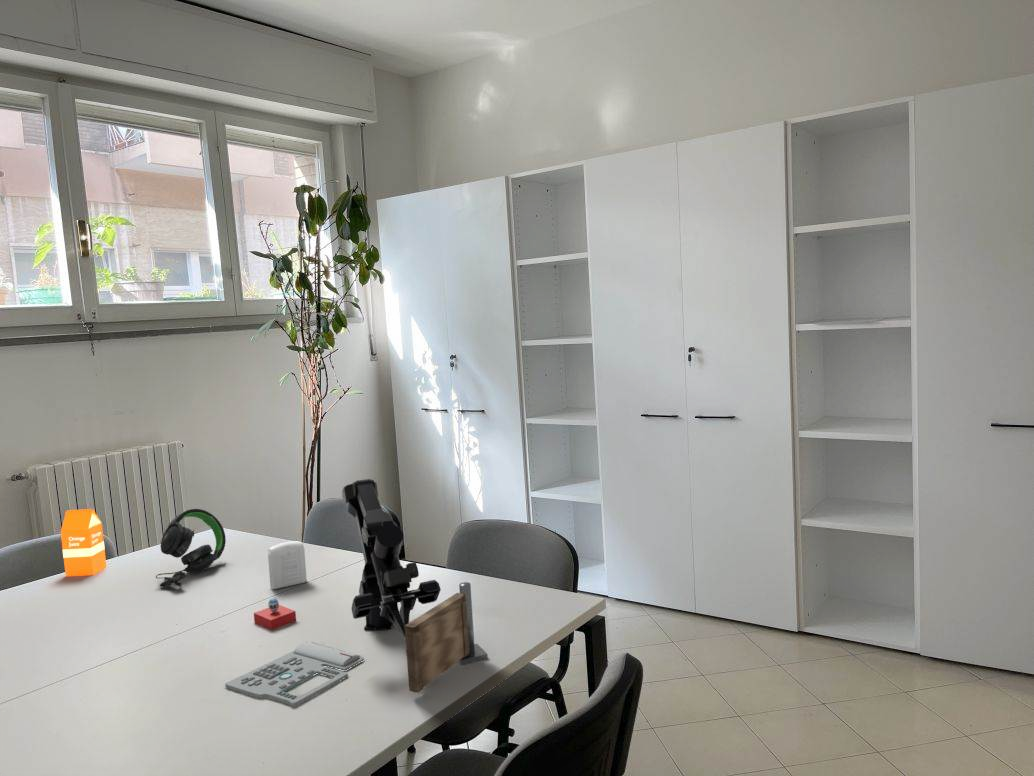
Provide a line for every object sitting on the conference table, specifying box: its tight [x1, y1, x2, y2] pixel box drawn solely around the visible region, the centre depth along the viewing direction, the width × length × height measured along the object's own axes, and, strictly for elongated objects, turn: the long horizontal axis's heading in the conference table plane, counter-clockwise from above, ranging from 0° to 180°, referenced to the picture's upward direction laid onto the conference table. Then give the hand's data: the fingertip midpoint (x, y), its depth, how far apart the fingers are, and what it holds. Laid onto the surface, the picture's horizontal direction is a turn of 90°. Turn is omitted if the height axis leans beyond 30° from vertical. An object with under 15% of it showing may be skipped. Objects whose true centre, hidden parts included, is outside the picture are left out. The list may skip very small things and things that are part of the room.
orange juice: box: [60, 508, 107, 577], centre depth 241 cm, size 8×9×20 cm
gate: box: [404, 592, 470, 693], centre depth 155 cm, size 18×2×13 cm, turn 151°
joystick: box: [253, 597, 297, 631], centre depth 191 cm, size 8×7×6 cm
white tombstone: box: [267, 540, 308, 590], centre depth 218 cm, size 10×4×12 cm, turn 123°
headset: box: [155, 508, 227, 589], centre depth 232 cm, size 18×14×29 cm
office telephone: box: [224, 641, 365, 708], centre depth 161 cm, size 23×3×20 cm
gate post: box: [458, 581, 489, 666], centre depth 164 cm, size 6×6×16 cm
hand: (406, 635), depth 161 cm, fingers closed
